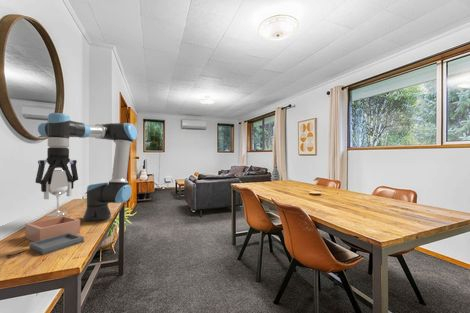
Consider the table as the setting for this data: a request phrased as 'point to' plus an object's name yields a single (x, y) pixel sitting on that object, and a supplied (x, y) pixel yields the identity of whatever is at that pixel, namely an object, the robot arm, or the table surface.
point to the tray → (56, 243)
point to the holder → (51, 228)
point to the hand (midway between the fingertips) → (58, 197)
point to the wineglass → (58, 187)
